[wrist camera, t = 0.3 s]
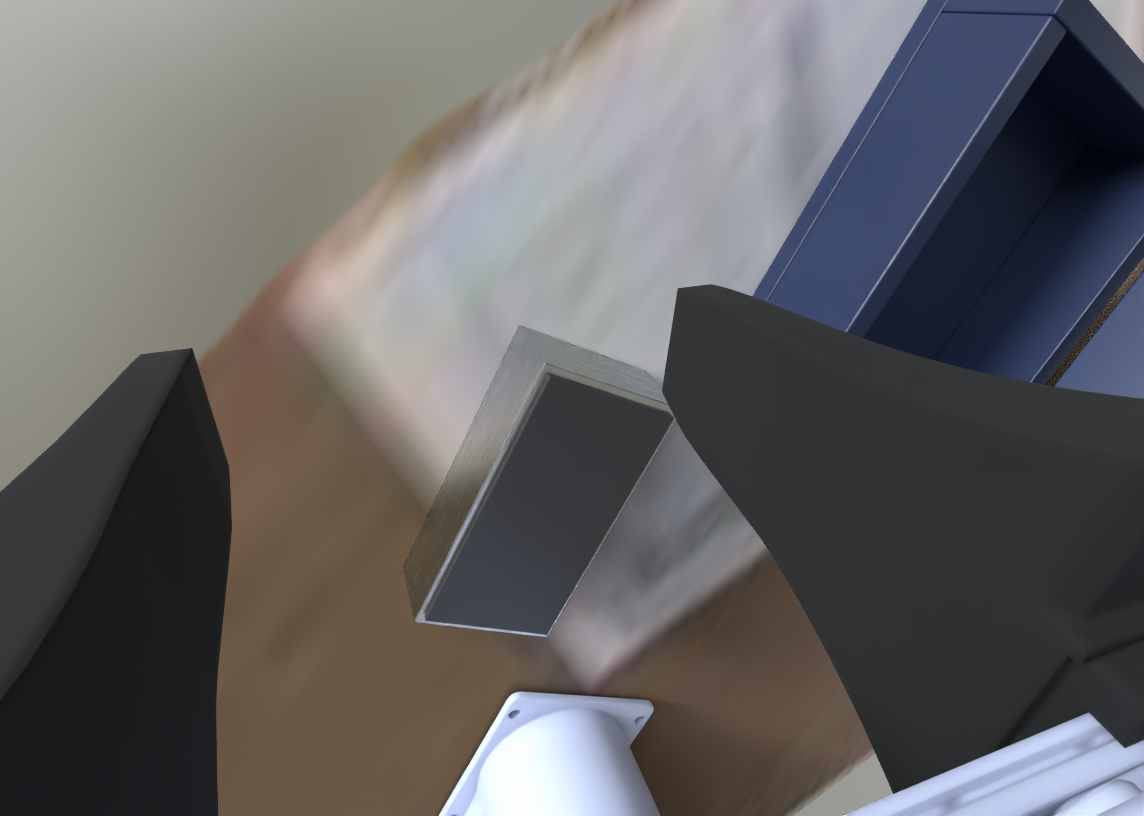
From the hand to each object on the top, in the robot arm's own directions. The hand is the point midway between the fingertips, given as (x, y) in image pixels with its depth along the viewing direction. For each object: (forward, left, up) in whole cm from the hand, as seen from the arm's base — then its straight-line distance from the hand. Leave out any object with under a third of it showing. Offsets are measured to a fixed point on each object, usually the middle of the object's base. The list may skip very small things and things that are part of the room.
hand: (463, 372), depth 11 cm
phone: (-7, -8, -10) cm, 15 cm away
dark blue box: (+6, -18, -10) cm, 21 cm away
